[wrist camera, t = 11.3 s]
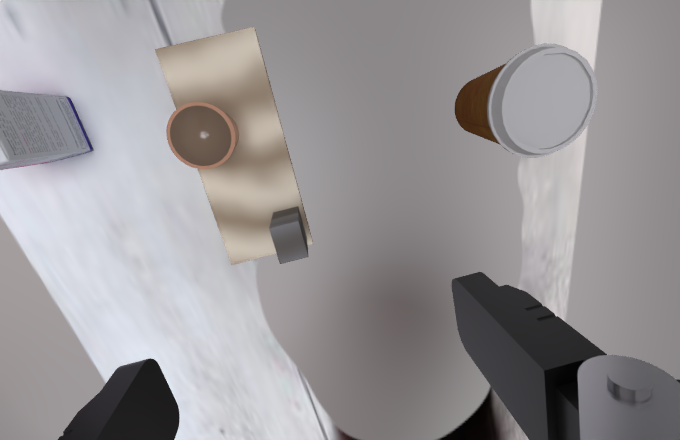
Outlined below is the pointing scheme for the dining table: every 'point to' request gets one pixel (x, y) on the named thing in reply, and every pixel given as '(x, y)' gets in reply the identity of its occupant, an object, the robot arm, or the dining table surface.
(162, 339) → the dining table surface
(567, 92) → the disposable coffee cup
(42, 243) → the dining table surface
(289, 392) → the dining table surface
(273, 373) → the dining table surface
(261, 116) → the birch board
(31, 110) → the supplement box
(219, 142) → the terracotta pot
